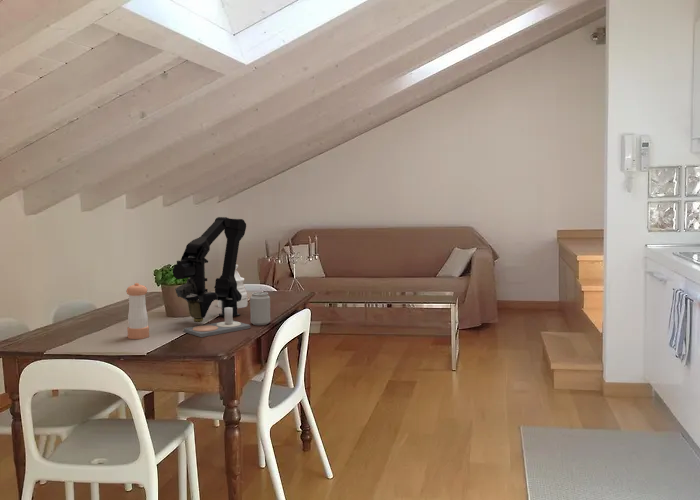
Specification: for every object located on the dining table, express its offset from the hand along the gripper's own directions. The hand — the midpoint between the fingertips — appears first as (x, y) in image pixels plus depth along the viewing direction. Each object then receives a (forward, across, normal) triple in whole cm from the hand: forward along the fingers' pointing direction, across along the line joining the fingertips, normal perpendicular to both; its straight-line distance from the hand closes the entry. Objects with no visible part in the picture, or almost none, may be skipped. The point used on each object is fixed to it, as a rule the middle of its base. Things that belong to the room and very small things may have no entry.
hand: (198, 316), depth 267 cm
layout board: (+3, +13, 0) cm, 13 cm away
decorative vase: (+2, 0, 0) cm, 2 cm away
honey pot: (+4, -23, +31) cm, 39 cm away
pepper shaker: (+3, +3, -26) cm, 26 cm away
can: (+3, +15, +18) cm, 24 cm away
